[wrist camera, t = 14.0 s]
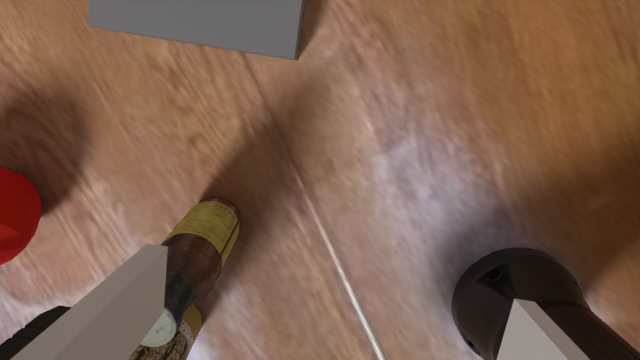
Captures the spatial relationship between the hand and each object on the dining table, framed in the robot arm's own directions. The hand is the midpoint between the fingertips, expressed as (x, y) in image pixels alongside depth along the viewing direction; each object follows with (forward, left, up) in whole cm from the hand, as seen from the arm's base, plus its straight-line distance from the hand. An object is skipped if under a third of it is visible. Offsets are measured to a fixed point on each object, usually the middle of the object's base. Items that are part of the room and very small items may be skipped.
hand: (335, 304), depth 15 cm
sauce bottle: (+12, +11, -32) cm, 36 cm away
